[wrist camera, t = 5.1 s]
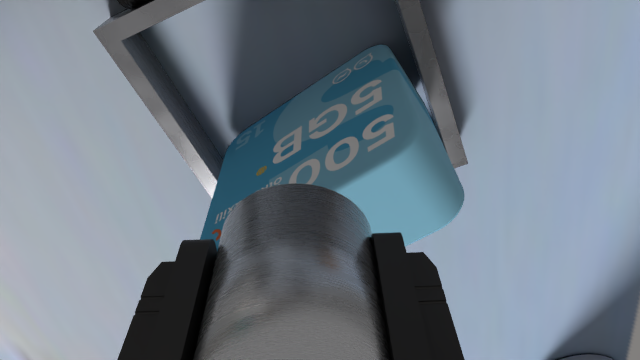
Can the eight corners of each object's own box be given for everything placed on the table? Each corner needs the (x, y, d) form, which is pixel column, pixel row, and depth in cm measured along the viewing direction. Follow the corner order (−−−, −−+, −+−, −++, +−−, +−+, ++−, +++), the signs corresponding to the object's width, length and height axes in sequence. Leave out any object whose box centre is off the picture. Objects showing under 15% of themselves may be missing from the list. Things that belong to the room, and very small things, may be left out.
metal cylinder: (375, 180, 11) (426, 439, 6) (369, 291, 14) (404, 542, 9) (209, 186, 11) (133, 450, 6) (232, 296, 14) (190, 549, 9)
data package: (384, 35, 27) (425, 137, 17) (420, 94, 29) (476, 215, 19) (228, 139, 31) (187, 272, 21) (270, 185, 33) (252, 324, 23)
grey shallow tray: (466, 170, 32) (476, 191, 30) (261, 240, 36) (258, 264, 34) (361, -174, 21) (366, -177, 19) (81, -25, 25) (60, -14, 23)
